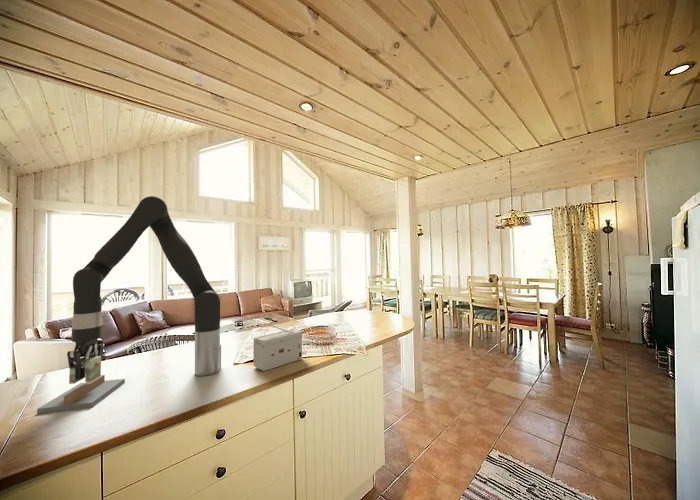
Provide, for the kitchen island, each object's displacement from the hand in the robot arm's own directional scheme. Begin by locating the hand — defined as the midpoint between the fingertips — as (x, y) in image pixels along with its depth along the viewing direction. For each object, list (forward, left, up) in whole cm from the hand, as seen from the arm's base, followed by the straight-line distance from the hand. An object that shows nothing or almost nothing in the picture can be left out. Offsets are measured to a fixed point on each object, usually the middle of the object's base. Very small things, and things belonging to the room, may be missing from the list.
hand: (85, 375), depth 93 cm
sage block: (0, 0, -1) cm, 1 cm away
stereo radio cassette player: (-64, -13, -7) cm, 66 cm away
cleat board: (0, 0, -7) cm, 7 cm away
